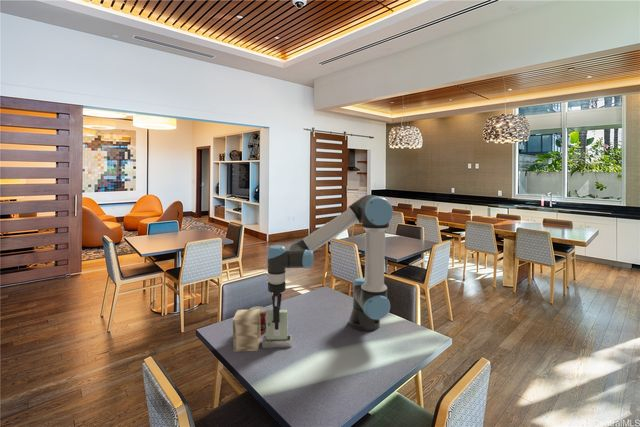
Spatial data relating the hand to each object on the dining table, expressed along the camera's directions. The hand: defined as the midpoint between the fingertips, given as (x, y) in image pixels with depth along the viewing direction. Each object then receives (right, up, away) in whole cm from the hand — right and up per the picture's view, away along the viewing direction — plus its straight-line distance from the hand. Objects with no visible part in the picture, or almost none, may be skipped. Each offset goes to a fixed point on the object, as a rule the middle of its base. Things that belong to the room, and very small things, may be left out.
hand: (277, 333), depth 143 cm
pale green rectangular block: (0, -2, 0) cm, 2 cm away
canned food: (-11, -4, +12) cm, 16 cm away
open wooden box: (-13, -5, 0) cm, 14 cm away
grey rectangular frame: (0, -5, +1) cm, 5 cm away
